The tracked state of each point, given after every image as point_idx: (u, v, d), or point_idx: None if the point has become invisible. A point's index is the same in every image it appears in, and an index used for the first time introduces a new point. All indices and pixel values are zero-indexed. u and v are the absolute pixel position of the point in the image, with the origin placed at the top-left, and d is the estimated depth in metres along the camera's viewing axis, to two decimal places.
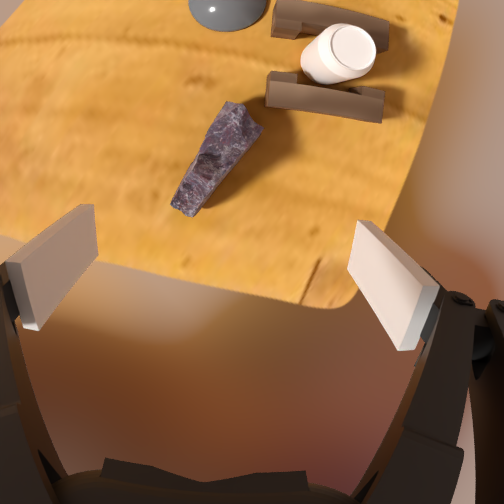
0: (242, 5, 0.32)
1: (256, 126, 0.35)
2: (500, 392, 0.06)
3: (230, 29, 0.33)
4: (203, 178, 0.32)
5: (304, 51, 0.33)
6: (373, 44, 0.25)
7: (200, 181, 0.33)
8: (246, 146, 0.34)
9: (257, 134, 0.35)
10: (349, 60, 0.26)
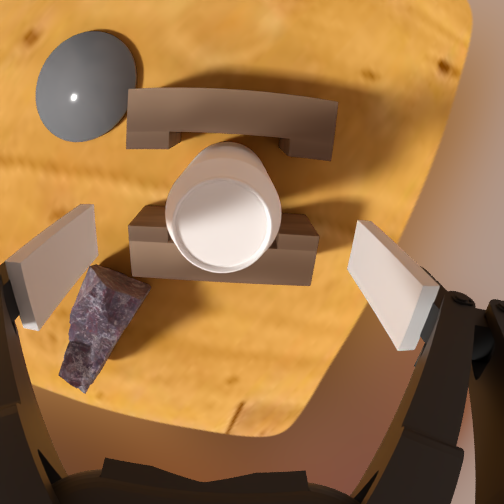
0: (101, 94, 0.22)
1: (130, 300, 0.26)
2: (500, 392, 0.06)
3: (87, 138, 0.23)
4: (72, 384, 0.23)
5: None
6: (267, 212, 0.15)
7: None
8: (118, 334, 0.25)
9: (132, 312, 0.26)
10: (215, 253, 0.16)
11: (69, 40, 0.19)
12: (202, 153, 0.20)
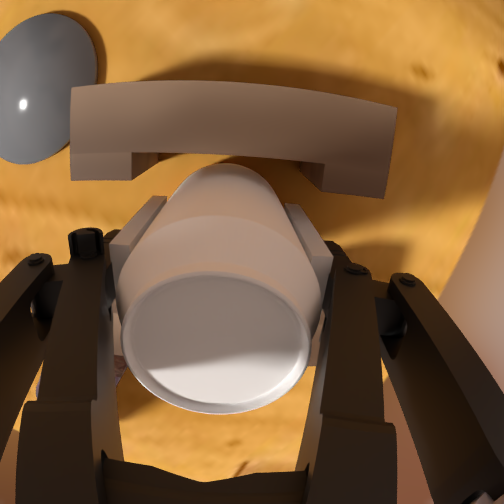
0: (50, 98, 0.15)
1: None
2: (424, 372, 0.07)
3: (36, 159, 0.16)
4: None
5: None
6: (304, 329, 0.08)
7: None
8: None
9: None
10: (206, 388, 0.09)
11: (16, 29, 0.12)
12: (184, 188, 0.13)
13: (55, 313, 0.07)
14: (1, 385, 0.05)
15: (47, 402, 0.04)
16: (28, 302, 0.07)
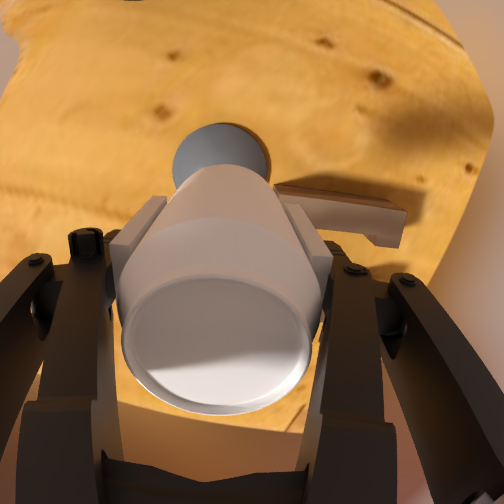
0: None
1: None
2: (424, 372, 0.07)
3: None
4: None
5: None
6: (304, 332, 0.08)
7: None
8: None
9: None
10: (207, 390, 0.09)
11: (207, 128, 0.31)
12: (184, 189, 0.13)
13: (55, 313, 0.07)
14: (1, 385, 0.05)
15: (47, 401, 0.04)
16: (28, 302, 0.07)
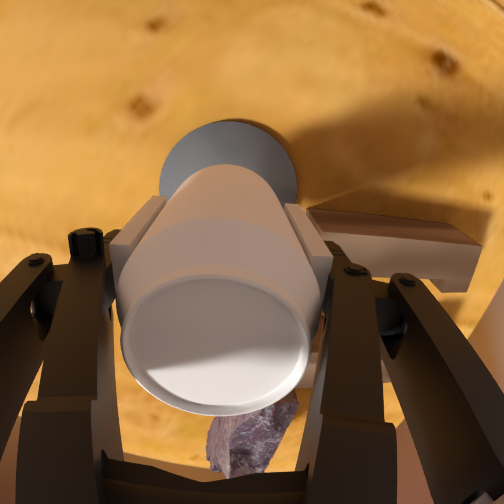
0: None
1: (289, 407, 0.28)
2: (424, 372, 0.07)
3: None
4: None
5: None
6: (304, 332, 0.08)
7: None
8: (281, 436, 0.27)
9: (292, 415, 0.28)
10: (206, 390, 0.09)
11: (208, 127, 0.21)
12: (184, 189, 0.13)
13: (55, 313, 0.07)
14: (1, 385, 0.05)
15: (48, 401, 0.04)
16: (28, 302, 0.07)
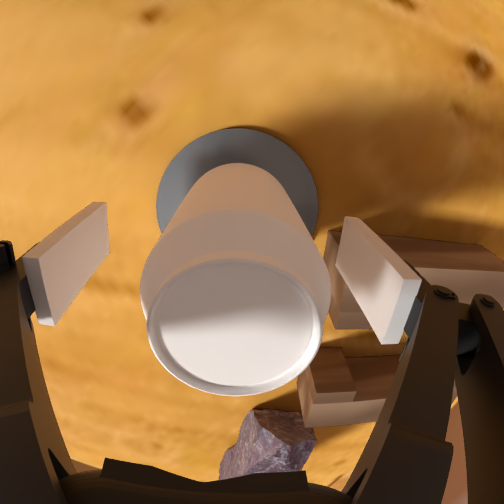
0: None
1: (306, 444, 0.24)
2: (488, 387, 0.06)
3: None
4: None
5: None
6: (316, 313, 0.08)
7: None
8: None
9: (309, 452, 0.24)
10: (224, 371, 0.09)
11: (213, 136, 0.18)
12: (201, 186, 0.13)
13: None
14: None
15: None
16: None
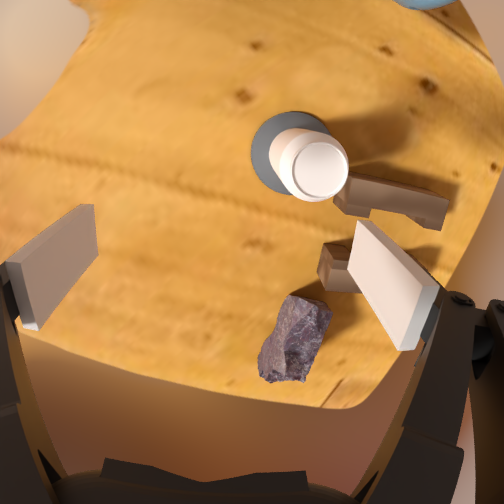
0: None
1: (326, 314, 0.41)
2: (500, 392, 0.06)
3: None
4: (295, 379, 0.38)
5: (272, 146, 0.33)
6: (346, 164, 0.25)
7: None
8: (322, 337, 0.40)
9: (328, 321, 0.41)
10: (313, 187, 0.26)
11: (286, 114, 0.34)
12: (291, 131, 0.30)
13: None
14: None
15: None
16: None
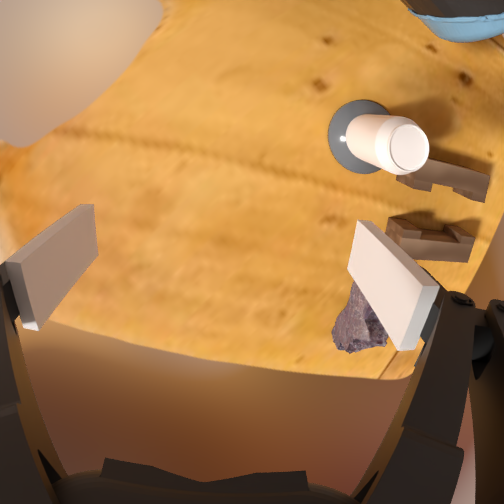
0: None
1: None
2: (500, 392, 0.06)
3: (365, 172, 0.40)
4: (378, 343, 0.41)
5: (352, 129, 0.35)
6: (427, 143, 0.27)
7: None
8: None
9: None
10: (404, 161, 0.28)
11: (357, 102, 0.37)
12: (372, 116, 0.32)
13: None
14: None
15: None
16: None
